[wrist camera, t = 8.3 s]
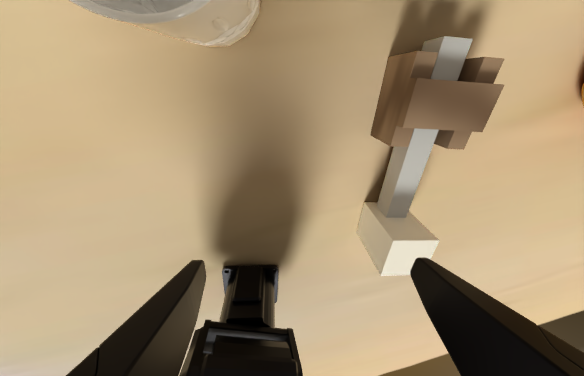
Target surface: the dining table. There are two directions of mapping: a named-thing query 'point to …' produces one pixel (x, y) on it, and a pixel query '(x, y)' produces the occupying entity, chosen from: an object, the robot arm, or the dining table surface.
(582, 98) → the fruit
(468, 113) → the housing
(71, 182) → the dining table surface
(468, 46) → the grey bar
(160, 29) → the white cup
